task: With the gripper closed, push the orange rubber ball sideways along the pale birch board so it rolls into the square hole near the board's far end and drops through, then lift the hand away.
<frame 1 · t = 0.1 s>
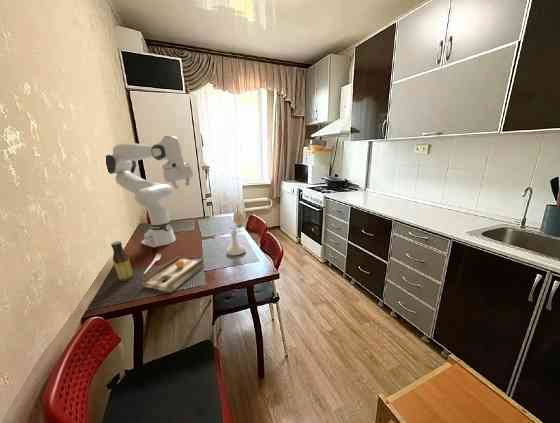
hand: (182, 186, 141), 39 cm above the table, tool pointing down, fingers open, 8 cm apart
sauce bottle: (126, 278, 116), on the table
deck: (175, 275, 117), on the table
ball: (179, 263, 119), point 4 cm above the table, touching deck
fork: (152, 265, 130), on the table
flower in vase: (237, 252, 139), on the table
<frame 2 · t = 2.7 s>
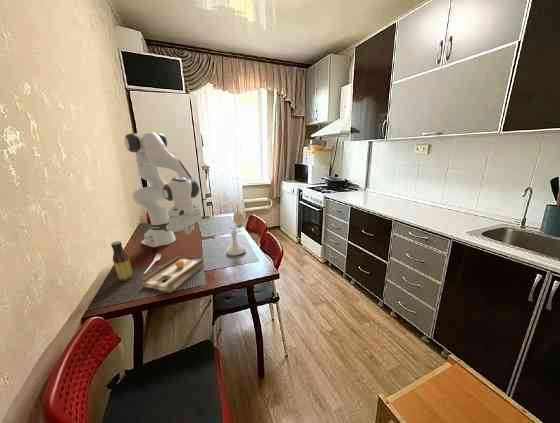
hand: (188, 233, 124), 18 cm above the table, tool pointing down, fingers closed
nothing on the table moved.
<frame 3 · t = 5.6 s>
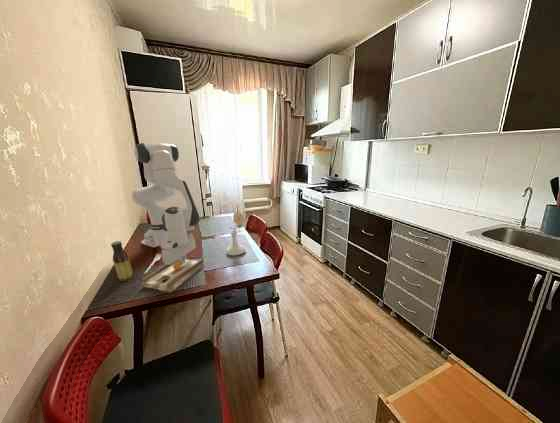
hand: (182, 263, 121), 4 cm above the table, tool pointing down, fingers closed
ball: (177, 265, 118), point 4 cm above the table, tilted 57°, touching deck
everything else where it was.
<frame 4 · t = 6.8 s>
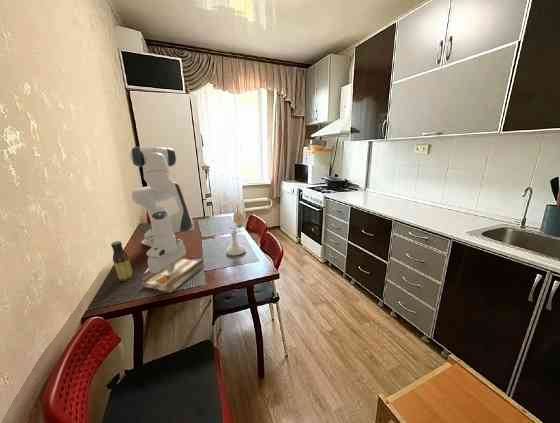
hand: (171, 271, 114), 4 cm above the table, tool pointing down, fingers closed
ball: (163, 280, 110), point 2 cm above the table
everything else where it was.
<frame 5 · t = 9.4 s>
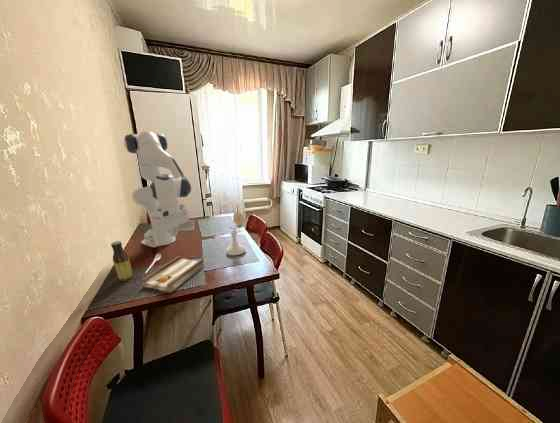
hand: (174, 235, 115), 20 cm above the table, tool pointing down, fingers closed
ball: (163, 280, 110), point 2 cm above the table, tilted 15°
everything else where it was.
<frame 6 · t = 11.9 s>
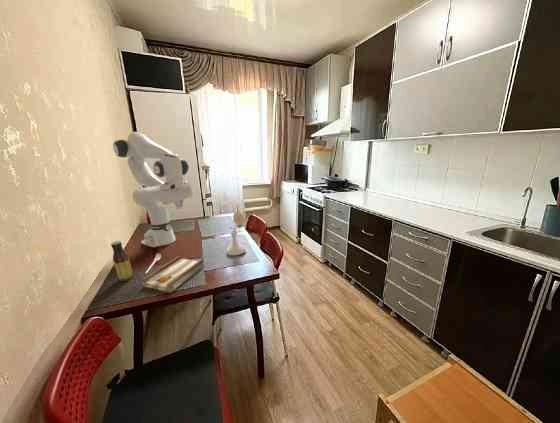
hand: (180, 208, 131), 29 cm above the table, tool pointing down, fingers closed
ball: (164, 279, 111), point 2 cm above the table, tilted 29°
everything else where it was.
at the end: ball 0.3 cm from the target spot on the deck, point 2.0 cm above the deck's base; ball touching table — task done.
